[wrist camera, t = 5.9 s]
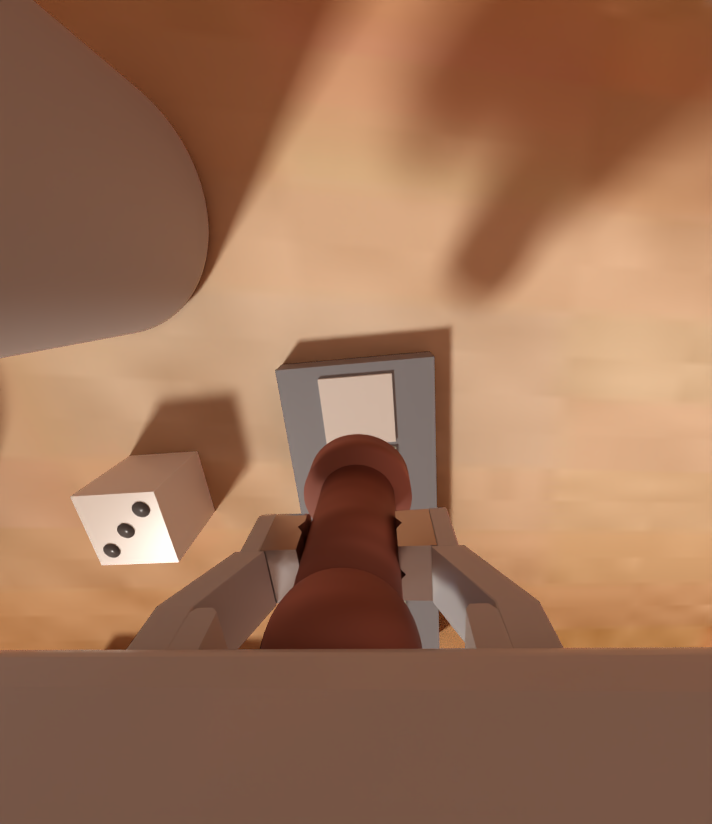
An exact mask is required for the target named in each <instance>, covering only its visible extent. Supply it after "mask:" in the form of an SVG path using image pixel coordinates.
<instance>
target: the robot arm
mask: <svg viewBox="0 0 712 824" xmlns="http://www.w3.org/2000/svg"><path fill="white" fill-rule="evenodd" d="M395 520H396V534H397V547H398V558H399V566H400V569H401V580H402V592H403V600H404V601H433V603H434V604H435V605H436V607H437V608H438V609H439V610H440V612H441V613H442V614H443V616H444V617H445V618H446V619H447V621H448V622H449V623H450V624H451V626H452V627H453V628H454V629H455V631H456V632H457V633H458V634H459V636H460V637H461V638H462V639H463V641H464V642H465V648H448V649H238V648H239V647H240V646H241V645H242V644H243V643H244V642H245V640H246V639H247V638H248V637H249V636H250V635H251V634H252V632H253V631H254V630H255V629H256V628H257V627H258V626H259V624H260V623H261V622H262V621H263V620H264V619H265V618H266V617H267V615H268V614H269V613H270V612H271V611H272V610H273V609H274V607H275V606H276V603H279V602H280V601H281V600H282V599H283V597H284V596H285V595H286V594H287V593H288V592H289V590H290V589H292V588H293V586H294V582H295V579H296V575H297V572H298V568H299V565H300V561H301V558H302V554H303V551H304V547H305V544H306V540H307V537H308V533H309V530H310V526H311V523H312V520H311V516H310V514H278V515H277V514H270V515H261V516H259V518H258V520H257V521H256V523H255V525H254V527H253V529H252V531H251V533H250V534H249V536H248V538H247V540H246V542H245V544H244V546H243V548H242V549H241V551H240V552H235V553H233V554H232V555H230V556H229V557H228V558H226V559H225V560H223V561H222V562H220V563H219V564H218V565H216V566H215V567H213V568H212V569H210V570H209V571H207V572H206V573H205V574H203V575H202V576H200V577H199V578H197V579H196V580H195V581H193V582H192V583H190V584H189V585H187V586H186V587H184V588H183V589H182V590H180V591H179V592H177V593H176V594H174V595H173V596H172V597H170V598H169V599H167V600H166V601H164V602H163V603H161V604H160V605H159V606H157V607H156V608H155V610H154V611H153V613H152V614H151V615H150V617H149V618H148V620H147V621H146V622H145V624H144V625H143V627H142V628H141V630H140V631H139V632H138V634H137V635H136V637H135V638H134V639H133V641H132V642H131V644H130V645H129V646H128V648H127V649H126V650H0V824H712V647H690V648H563V646H562V644H561V642H560V640H559V638H558V636H557V635H556V633H555V631H554V629H553V627H552V625H551V623H550V621H549V619H548V617H547V615H546V613H545V612H544V610H543V608H542V606H541V604H540V602H539V601H538V600H537V599H535V598H534V597H533V596H531V595H530V594H529V593H527V592H526V591H525V590H523V589H522V588H521V587H519V586H518V585H517V584H515V583H514V582H513V581H511V580H510V579H509V578H507V577H506V576H505V575H503V574H502V573H501V572H499V571H498V570H497V569H495V568H494V567H493V566H491V565H490V564H489V563H487V562H486V561H485V560H483V559H482V558H481V557H479V556H478V555H477V554H475V553H474V552H473V551H471V550H470V549H469V548H467V547H466V546H465V545H458V541H457V538H456V535H455V532H454V529H453V526H452V523H451V520H450V517H449V514H448V511H447V508H445V507H438V508H428V509H413V510H395Z"/></svg>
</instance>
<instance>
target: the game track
mask: <svg viewBox="0 0 712 824" xmlns="http://www.w3.org/2000/svg"><path fill="white" fill-rule="evenodd" d="M275 373H276V378H277V383H278V389H279V394H280V400H281V405H282V410H283V416H284V421H285V427H286V432H287V438H288V443H289V448H290V454H291V459H292V465H293V470H294V475H295V481H296V486H297V492H298V497H299V502H300V508H301V513H302V514H309V512H308V510H307V508H306V505H305V501H304V486H305V481H306V479H307V476H308V474H309V471H310V468H311V466H312V463H313V460H314V458H315V457H316V455H317V454H318V452H319V451H320V450H321V449H322V448H323V447H324V446H325V445H326V444H328V443H329V442H331V441H332V440H334V439H336V438H339V437H342V436H346V435H352V434H364V435H370V436H374V437H377V438H380V439H382V440H384V441H386V442H388V443H389V444H390V445H392V446H393V447H394V448H395V449H396V450H397V451H398V452H399V453H400V454H401V456H402V457H403V459H404V461H405V463H406V465H407V469H408V473H409V479H410V485H411V491H412V503H411V508H410V510H413V509H428V508H437V484H436V426H435V368H434V356H433V355H432V354H431V352H419V353H408V354H396V355H385V356H373V357H362V358H351V359H339V360H328V361H316V362H305V363H294V364H282V365H281V366H280V367H279V368H277V369H276V370H275ZM311 520H312V517H311ZM404 602H405V603H406V605H407V606H408V608H409V610H410V612H411V614H412V616H413V618H414V620H415V623H416V626H417V629H418V632H419V635H420V638H421V643H422V649H439V609H438V608H437V607H436V605H435V604H434V603H433V601H404Z"/></svg>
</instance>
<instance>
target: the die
mask: <svg viewBox="0 0 712 824" xmlns="http://www.w3.org/2000/svg"><path fill="white" fill-rule="evenodd" d="M70 497H71V500H72V502H73V504H74V506H75V508H76V510H77V513H78V515H79V517H80V519H81V521H82V524H83V526H84V528H85V530H86V532H87V534H88V537H89V539H90V541H91V543H92V545H93V547H94V550H95V552H96V554H97V556H98V558H99V560H100V563H101V565H121V564H146V563H170V562H179V561H180V560H181V558H182V557H183V556H184V554H185V553H186V551H187V550H188V549H189V547H190V546H191V544H192V543H193V542H194V540H195V539H196V537H197V536H198V535H199V533H200V532H201V530H202V529H203V527H204V526H205V525H206V523H207V522H208V520H209V519H210V518H211V516H212V515H213V513H214V512H215V509H214V506H213V502H212V499H211V496H210V492H209V489H208V485H207V482H206V478H205V475H204V472H203V468H202V465H201V461H200V458H199V454H198V451H192V452H177V453H162V454H148V455H133V456H129V457H127V458H126V459H124V460H123V461H121V462H120V463H118V464H117V465H115V466H114V467H113V468H111V469H110V470H108V471H107V472H105V473H104V474H102V475H101V476H99V477H98V478H96V479H95V480H94V481H92V482H91V483H89V484H88V485H86V486H85V487H83V488H82V489H80V490H79V491H78V492H76V493H75V494H73V495H72V496H70Z"/></svg>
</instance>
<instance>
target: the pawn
mask: <svg viewBox="0 0 712 824" xmlns="http://www.w3.org/2000/svg"><path fill="white" fill-rule="evenodd" d="M304 501H305V505H306V508H307V510H308V512H309V514H310V516H311V517H312V523H311V526H310V530H309V533H308V537H307V540H306V544H305V547H304V551H303V554H302V558H301V561H300V565H299V568H298V572H297V575H296V579H295V582H294V586H293V588H292V589H290V590H289V592H288V593H287V594H286V595H285V596H284V597H283V599H282V600H281V601H280V602H279V604H278V605H277V607H276V609H275V610H274V612H273V614H272V616H271V617H270V620H269V622H268V625H267V627H266V630H265V632H264V635H263V639H262V643H261V647H260V649H422V643H421V638H420V635H419V632H418V629H417V626H416V623H415V620H414V618H413V616H412V614H411V612H410V610H409V608H408V606H407V605H406V603H405V602H404V600H403V592H402V580H401V569H400V566H399V558H398V547H397V534H396V520H395V510H410V508H411V503H412V491H411V485H410V479H409V473H408V469H407V465H406V463H405V461H404V459H403V457H402V456H401V454H400V453H399V452H398V451H397V450H396V449H395V448H394V447H393V446H392V445H390V444H389V443H388V442H386V441H384V440H382V439H380V438H377V437H374V436H370V435H364V434H352V435H346V436H342V437H339V438H336V439H334V440H332V441H331V442H329V443H328V444H326V445H325V446H324V447H323V448H322V449H321V450H320V451H319V452H318V454H317V455H316V457H315V458H314V460H313V463H312V466H311V468H310V471H309V474H308V476H307V479H306V481H305V486H304Z"/></svg>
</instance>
